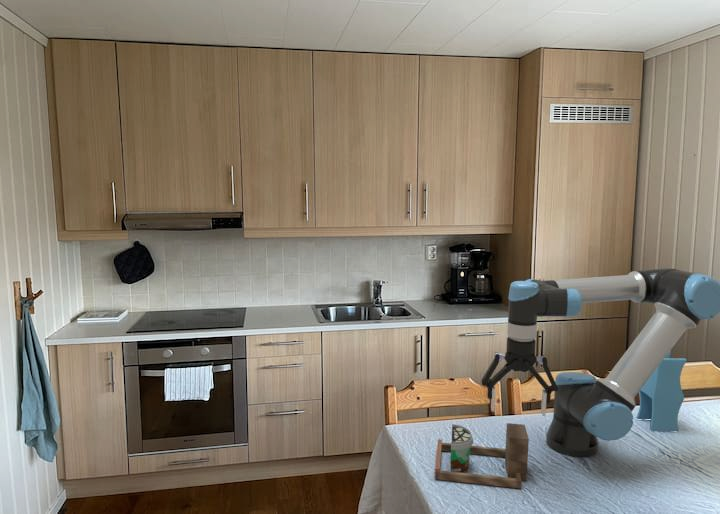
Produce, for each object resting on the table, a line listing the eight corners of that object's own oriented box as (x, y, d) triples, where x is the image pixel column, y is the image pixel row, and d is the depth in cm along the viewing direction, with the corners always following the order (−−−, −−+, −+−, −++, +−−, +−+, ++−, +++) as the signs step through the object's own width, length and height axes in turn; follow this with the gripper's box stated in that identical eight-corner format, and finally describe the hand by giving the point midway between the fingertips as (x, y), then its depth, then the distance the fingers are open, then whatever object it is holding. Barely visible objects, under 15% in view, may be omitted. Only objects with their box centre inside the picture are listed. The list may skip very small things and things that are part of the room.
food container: (472, 479, 141) (473, 445, 140) (450, 476, 142) (451, 442, 141) (472, 457, 153) (473, 425, 152) (451, 454, 154) (452, 423, 153)
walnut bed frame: (521, 456, 153) (522, 418, 151) (528, 489, 136) (530, 446, 134) (437, 448, 158) (438, 411, 156) (434, 478, 141) (436, 437, 139)
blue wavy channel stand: (680, 432, 170) (687, 359, 167) (651, 431, 170) (656, 359, 167) (663, 419, 180) (669, 350, 177) (635, 418, 180) (640, 350, 177)
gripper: (566, 336, 141) (562, 410, 144) (474, 331, 146) (471, 402, 149) (572, 344, 134) (567, 421, 137) (475, 338, 139) (472, 413, 141)
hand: (517, 411), depth 143 cm, fingers open, 13 cm apart
